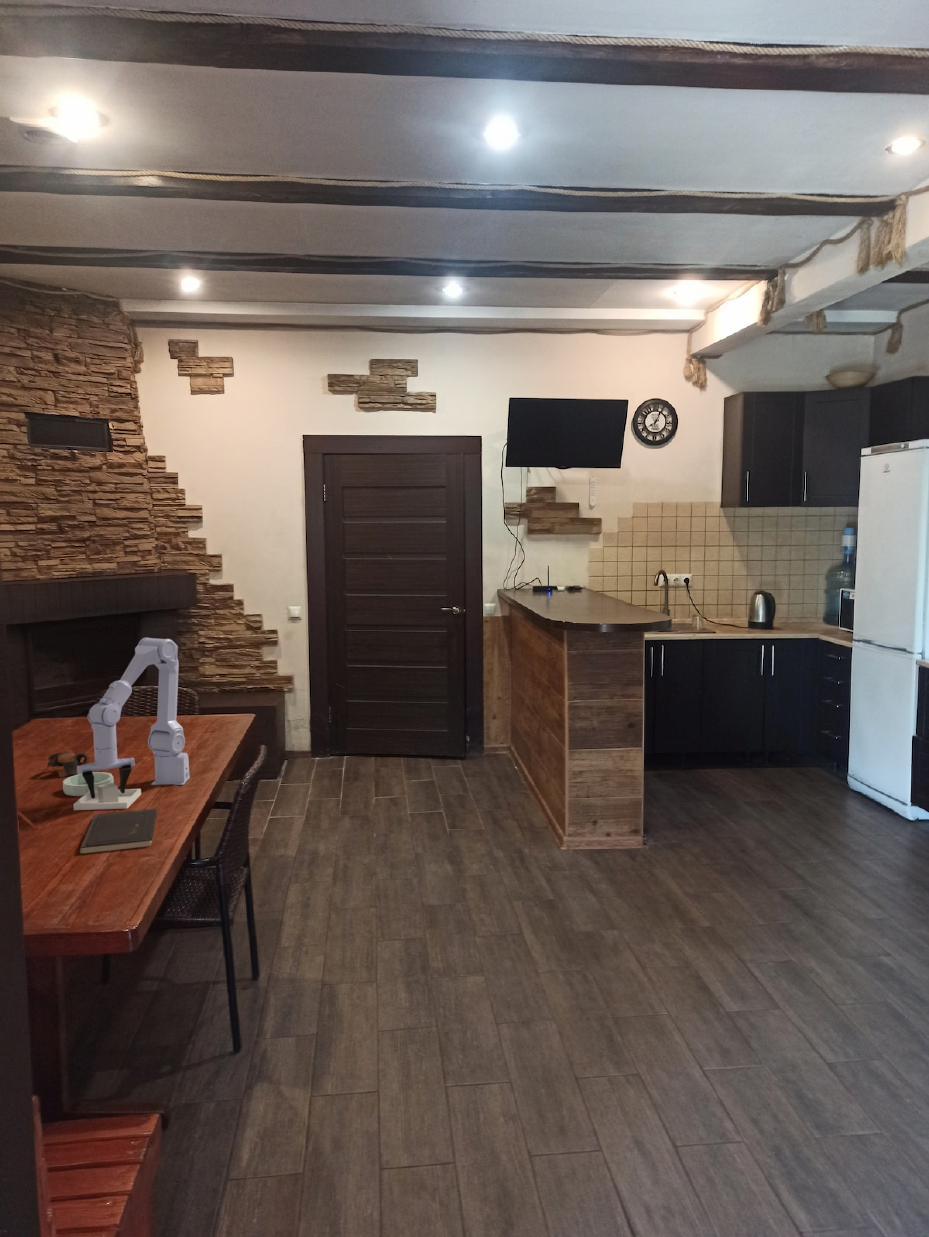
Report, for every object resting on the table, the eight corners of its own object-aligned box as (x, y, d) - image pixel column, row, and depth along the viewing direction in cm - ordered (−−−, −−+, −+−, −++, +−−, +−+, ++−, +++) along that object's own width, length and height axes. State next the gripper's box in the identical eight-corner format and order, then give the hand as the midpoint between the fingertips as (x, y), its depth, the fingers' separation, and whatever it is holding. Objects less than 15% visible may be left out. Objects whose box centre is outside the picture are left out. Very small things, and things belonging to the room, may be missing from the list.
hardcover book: (158, 816, 216) (158, 808, 216) (152, 848, 194) (151, 839, 194) (93, 823, 212) (92, 814, 211) (79, 856, 190) (78, 846, 189)
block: (118, 802, 225) (117, 785, 224) (103, 805, 222) (102, 789, 221) (113, 798, 228) (112, 782, 227) (98, 801, 225) (97, 785, 224)
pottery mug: (49, 781, 248) (42, 756, 250) (56, 786, 256) (49, 762, 258) (90, 767, 252) (83, 742, 254) (95, 772, 261) (88, 748, 262)
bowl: (119, 782, 244) (118, 771, 243) (103, 796, 231) (103, 784, 231) (74, 784, 243) (74, 772, 242) (56, 798, 230) (55, 786, 230)
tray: (141, 796, 231) (140, 788, 231) (127, 810, 219) (126, 802, 219) (90, 797, 230) (90, 790, 230) (73, 812, 218) (73, 804, 218)
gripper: (129, 740, 230) (132, 786, 232) (74, 747, 222) (76, 795, 224) (135, 745, 225) (137, 792, 226) (78, 753, 217) (81, 802, 218)
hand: (107, 794), depth 224 cm, fingers open, 7 cm apart
